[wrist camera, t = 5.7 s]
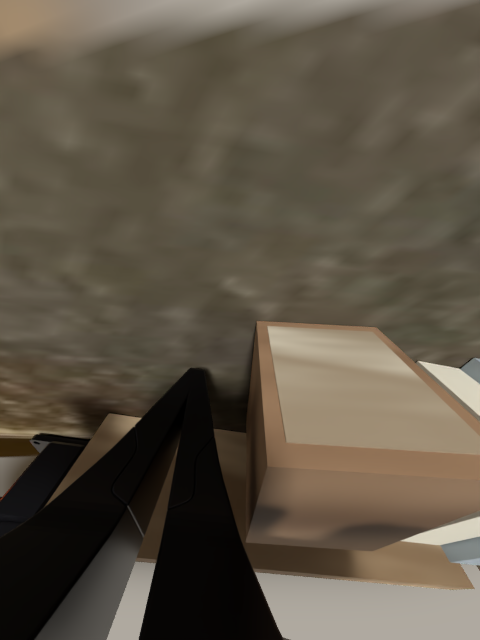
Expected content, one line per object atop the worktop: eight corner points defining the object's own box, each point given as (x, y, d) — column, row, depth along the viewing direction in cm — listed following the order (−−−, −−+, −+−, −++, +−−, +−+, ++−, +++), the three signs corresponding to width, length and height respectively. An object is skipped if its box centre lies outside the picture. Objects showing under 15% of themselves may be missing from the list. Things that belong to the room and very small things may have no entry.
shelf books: (408, 440, 13) (496, 567, 9) (346, 431, 13) (402, 557, 8) (517, 366, 9) (806, 533, 4) (429, 349, 9) (641, 511, 4)
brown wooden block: (325, 422, 12) (372, 551, 8) (246, 417, 12) (245, 542, 8) (376, 326, 8) (550, 483, 3) (256, 320, 8) (268, 465, 4)
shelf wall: (383, 462, 15) (451, 589, 10) (112, 424, 14) (31, 551, 9) (394, 454, 14) (474, 588, 9) (109, 413, 13) (16, 547, 8)
